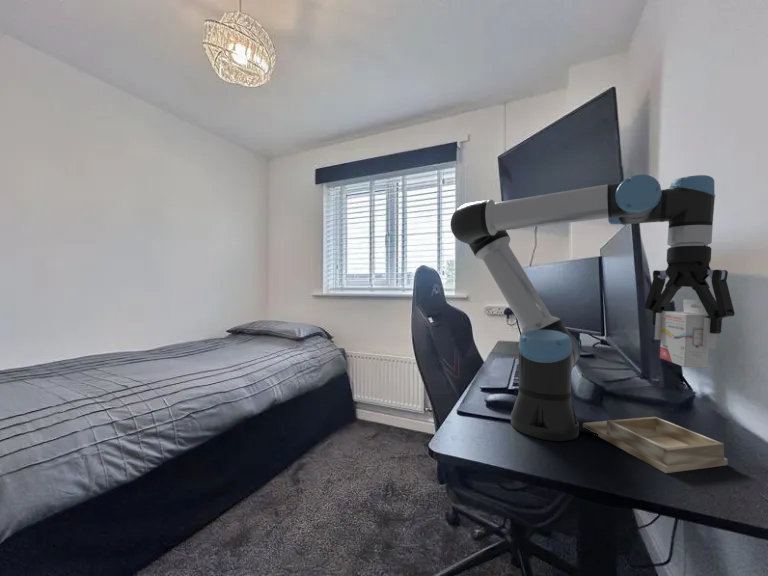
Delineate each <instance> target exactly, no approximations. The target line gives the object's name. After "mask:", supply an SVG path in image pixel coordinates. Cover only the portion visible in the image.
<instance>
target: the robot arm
mask: <svg viewBox="0 0 768 576" xmlns="http://www.w3.org/2000/svg"><path fill="white" fill-rule="evenodd" d="M715 193H716V192H715V179H714V178H713V177H712V176H710V175H707V174H705V175H703V174H699V175H697V174H696V175H689V176H684V177H679V178H676V179H674V180H672V181H671V183H670V186H669V188H666V189H662V188H661V184H660V182H659V181H658V180H657V179H656V178H655V177H654V176H652V175H648V174H643V173H642V174H639V173H638V174H634V175H631V176H629V177H627V178H625V179H624V180H623V181H619V182H614V183H607V184H602V185H595V186H590V187H583V188H577V189H570V190H566V191H565V190H564V191H559V192H552V193H547V194H540V195H534V196H533V195H532V196H528V197H522V198H515V199H510V200H504V201H494V200H493V199H486V200H479V201H472V202H467V203H464V204H462V205H460V206H459V207H458V208H457V209H456V210H455V211H454V212H453V214H452V216H451V219H450V231H451V233H452V234H453V236H454V237H455V238H456V239H457V240H458V241H460V242H461V243H464V244H466V245H468V246H469V247H470V250H471V251H472V253H473V255H474V256H475V258H476V259H480V260H483V262H484V265H485V266H486V267H487V269H488V271H489V272H490V274H491V276H492V278H493V279H494V282H495V283H496V285H497V287H498V288H499V289H500V292H501V294H502V296H503V297H504V299H505V301H506V302H507V304H508V306H509V307H510V309H511V311H512V313H513V314H514V316H515V318H516V320H517V321H518V323H519V325H520V327H521V329H522V331H521V335H520V337H519V341H518V342H519V343H518V345H517V346H518V347H517V348H518V394H517V397H516V399H515V401H514V404H513V409H512V410H511V413H510V424H511V425H512V427H513V428H514V429H515V430H517V431H518V432H520V433H522V434H525V435H526V436H529V437H532V438H536V439H539V440H545V441H554V442H566V441H567V442H568V441H572V440H574V439H576V438H578V437H579V434H580V433H579V432H580V426H579V421H578V419H577V415H576V412H575V408H574V406H573V403H572V370H573V369H574V368H575V366H577V364H578V363H579V360H580V356H581V349H580V344H579V342H578V339H577V338H576V337H575V336H574V335H573V334H571V332H569V331H568V330H567V328H566V326H565V325H564V323H563V322H562V320H561V318H560V317H557V316H553V315H552V314H551V313H550V311H549V310H548V308H547V306H546V305H545V303H544V301H543V299H542V298H541V297H540V295H539V294H538V292H537V290H536V288H535V287H534V285H533V283H532V281H531V280H530V278H529V277H528V275H527V274H526V273H527V272H525V270H524V268H523V266H522V265H521V263H520V262H519V260H518V258H517V257H516V255H515V254H514V252H513V250H512V249H511V247H510V242H511V237H510V235H509V234H508V232H507V231H508V230H509V231H510V230H518V229H519V230H520V229H526V228H534V227H535V228H536V227H543V226H544V227H545V226H552V225H559V224H560V225H561V224H568V223H569V224H570V223H578V222H586V221H594V220H603V219H607V222H608V223H609V224H610V225H623V226H626V225H632V224H633V225H634V224H646V223H647V224H648V223H664V222H665V223H666V222H668V226H667V227H668V229H667V245H668V246H669V247H668V248H667V249H666V262H667V267H666V269H665V270H664V269H663V270H658V269H657V270H653V271H652V282H651V285H650V288H649V290H648V291H649V292H648V294H647V297H646V301H645V304H644V308H645V310H650V311H651V312H652V325H653V326H655V328H654V340H659V341H661V328H662V311H666V309H667V307H668V306H669V304H670V303H671V301H672V299H674V297H675V295H676V294H677V292H678V291H679V290H681V288H683V287H685V288H686V287H688V288H689V287H690V288H691V289H692V290H693V291H694V292H695V293H696V294H697V297H698V299H699V301H701V303H702V304H703V306H704V308H705V310H706V312H707V314H708V315H709V316H707V318H704V330H703V347H702V348H706V349H716V348H717V337H718V336H717V334H721V333H722V325H723V319H724V318H728V317H735V309H734V305H733V301H732V298H731V294H730V290H729V285H728V282H727V278H728V274H729V272H728V270H726V269H712V268H711V267H710V263H711V261H712V247H711V246H709V245H711V244H712V242H713V226H714V225H713V224H714V223H713V222H714V212H715V211H714V210H715V200H716V199H715V197H716V194H715ZM667 278H668V280H667V282H666V279H667ZM708 278H709V279H711V286H712V290H713V293H712V292H711V290H710V285H709V284H708V282H707V279H708ZM664 287H665V288H664ZM713 294H714V295H713Z"/></svg>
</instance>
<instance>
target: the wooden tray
mask: <svg viewBox="0 0 768 576" xmlns="http://www.w3.org/2000/svg"><path fill="white" fill-rule="evenodd" d="M583 427H585V428H587V429H590V430H592V431H594V432H596V433H597V434H598V436H597V437H598V438H601V439H602V440H604V441H607V442H608V443H610V444H612V445H614V446H616V447H617V448H619V449H621V450H623V451H624V452H626V453H628V454H630V455H632V456H633V457H636V459H639V460H641V461H643V462H645V463H647V464H648V465H650V466H651V467H653V468H655V469H657V470H659V471H661V472H663V473H664V474H671V473H677V472H678V473H679V472H685V471H694V470H699V469H700V470H702V469H708V468H710V469H711V468H715V467H717V468H718V467H723V466H728V463H729V461H728V458H726V457H725V443H723V442H720V441H717V440H715V439H713V438H710V437H708V436H705V435H703V434H701V433H698V432H696V431H693V430H690V429H687V428H685V427H683V426H680V425H678V424H676V423H674V422H670V421H668V420H665V419H663V418H660V417H657V416H649V417H647V416H646V417H637V418H634V417H633V418H626V419H625V418H623V419H612V420H604V421H603V420H602V421H601V420H600V421H590V422H583V423H582V428H583Z"/></svg>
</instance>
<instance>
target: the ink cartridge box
mask: <svg viewBox="0 0 768 576" xmlns="http://www.w3.org/2000/svg"><path fill="white" fill-rule="evenodd" d="M682 305H683V306H682V307H683V308H682V309H683V311H677V310H675V311H674V310H671V311H670V310H665V311H662V328H661V340H660V348H659V359H661V360H665V361H667V362H670V363H672V364H676V365H678V366H681V367H684V368H698V369H699V368H700V369H702V368H703V369H708V367H709V365H708V364H709V349H710V348H709V349H706V348H702V347H703V330H704V318H707V316H709V315H708V314H707V312H706V310H705V308H704V306H703V304H702V303H701V301H700V300H696V299H683V300H682ZM695 305H696V306H699V307H700V308H697V307H692V306H695Z"/></svg>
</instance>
